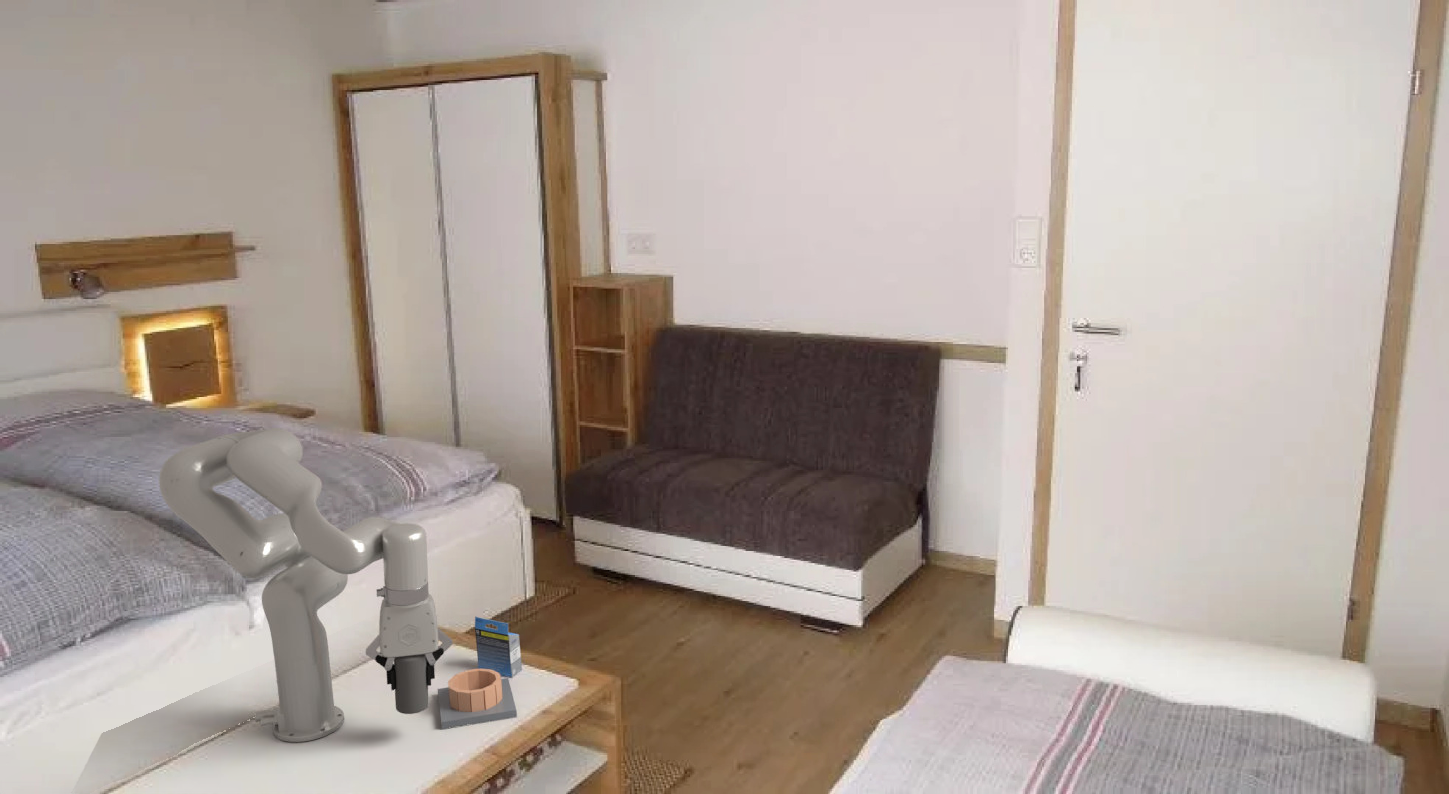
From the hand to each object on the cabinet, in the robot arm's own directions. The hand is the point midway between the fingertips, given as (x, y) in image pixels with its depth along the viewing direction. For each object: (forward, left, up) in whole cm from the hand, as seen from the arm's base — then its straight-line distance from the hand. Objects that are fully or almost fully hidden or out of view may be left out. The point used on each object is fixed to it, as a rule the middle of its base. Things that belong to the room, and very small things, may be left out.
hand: (411, 683), depth 193 cm
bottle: (0, 0, -5) cm, 5 cm away
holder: (+12, +9, -11) cm, 18 cm away
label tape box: (+18, +23, -11) cm, 31 cm away
